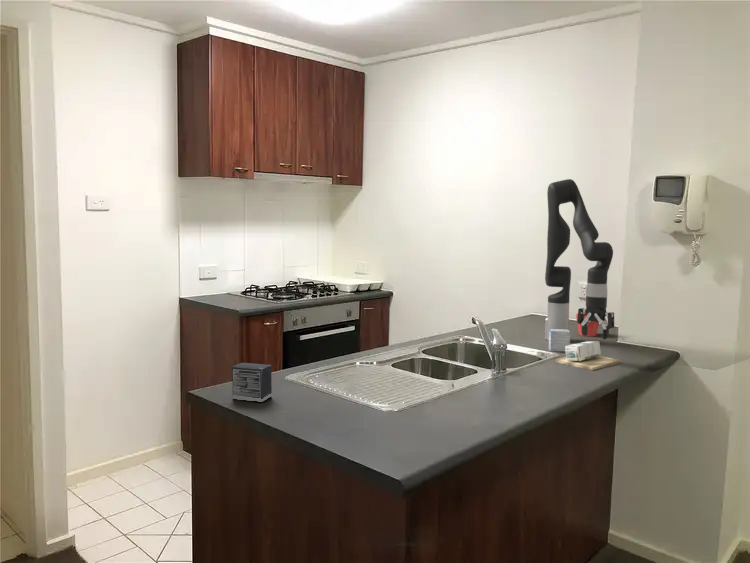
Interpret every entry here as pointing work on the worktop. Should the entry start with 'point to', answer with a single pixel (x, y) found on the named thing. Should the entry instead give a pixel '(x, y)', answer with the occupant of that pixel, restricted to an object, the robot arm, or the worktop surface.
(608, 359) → the birch board
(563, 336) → the medicine box
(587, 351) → the syrup box
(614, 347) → the worktop surface
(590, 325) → the flower pot
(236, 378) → the small box
